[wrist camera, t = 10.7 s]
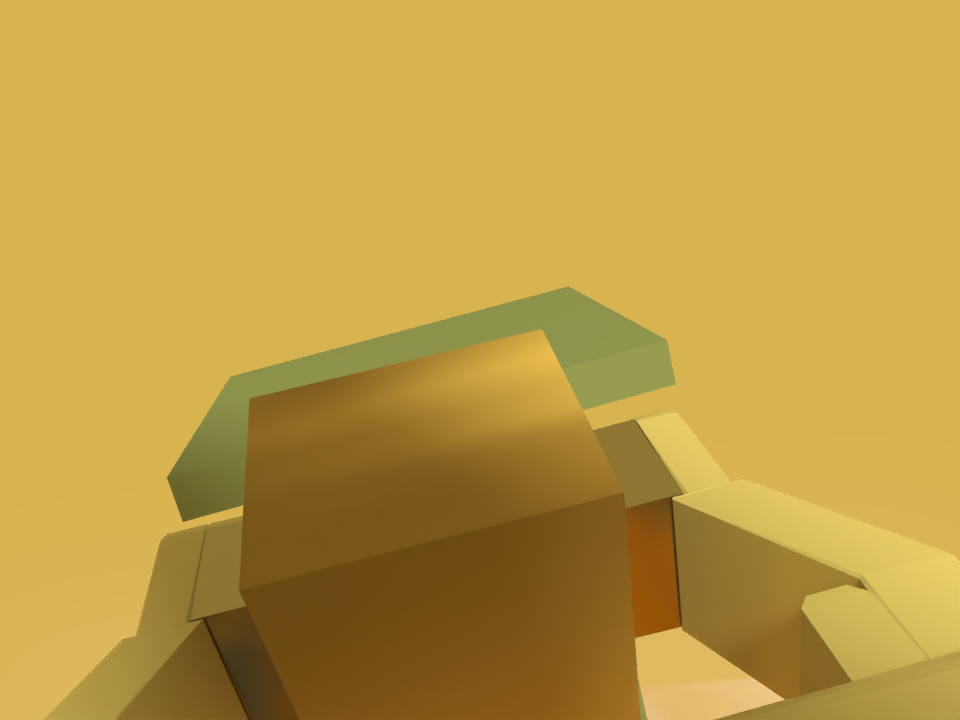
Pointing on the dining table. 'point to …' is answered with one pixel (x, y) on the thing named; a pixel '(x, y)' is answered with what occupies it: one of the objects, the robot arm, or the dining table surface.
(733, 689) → the dining table surface
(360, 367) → the stand
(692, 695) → the dining table surface
